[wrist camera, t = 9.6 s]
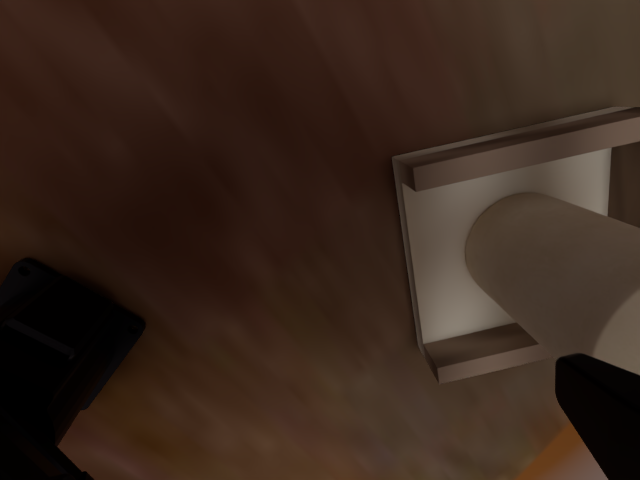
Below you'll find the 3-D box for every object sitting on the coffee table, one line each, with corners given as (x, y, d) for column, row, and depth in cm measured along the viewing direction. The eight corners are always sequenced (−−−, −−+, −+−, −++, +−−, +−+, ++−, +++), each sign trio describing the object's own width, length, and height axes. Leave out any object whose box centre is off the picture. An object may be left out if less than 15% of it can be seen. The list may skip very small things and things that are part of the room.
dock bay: (418, 346, 23) (439, 384, 20) (391, 156, 19) (412, 167, 16) (602, 303, 23) (651, 334, 20) (613, 106, 19) (676, 108, 16)
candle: (487, 312, 21) (657, 488, 11) (445, 228, 19) (608, 356, 10) (583, 260, 20) (843, 400, 11) (550, 169, 18) (830, 242, 9)
